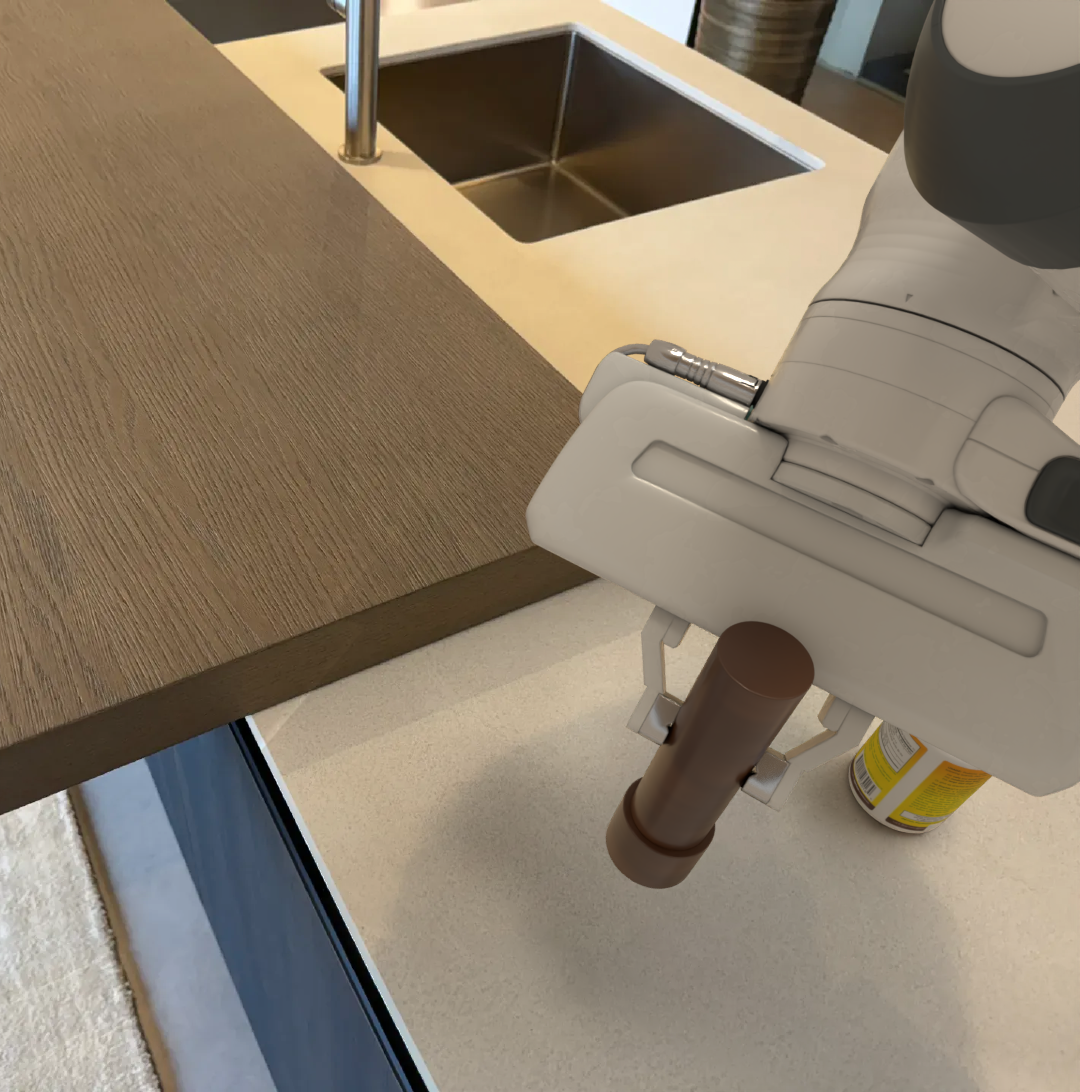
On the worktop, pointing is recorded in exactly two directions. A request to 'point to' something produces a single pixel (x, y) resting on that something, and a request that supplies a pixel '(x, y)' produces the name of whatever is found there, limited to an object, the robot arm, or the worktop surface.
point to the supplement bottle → (910, 780)
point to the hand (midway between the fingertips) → (701, 767)
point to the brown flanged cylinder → (708, 752)
